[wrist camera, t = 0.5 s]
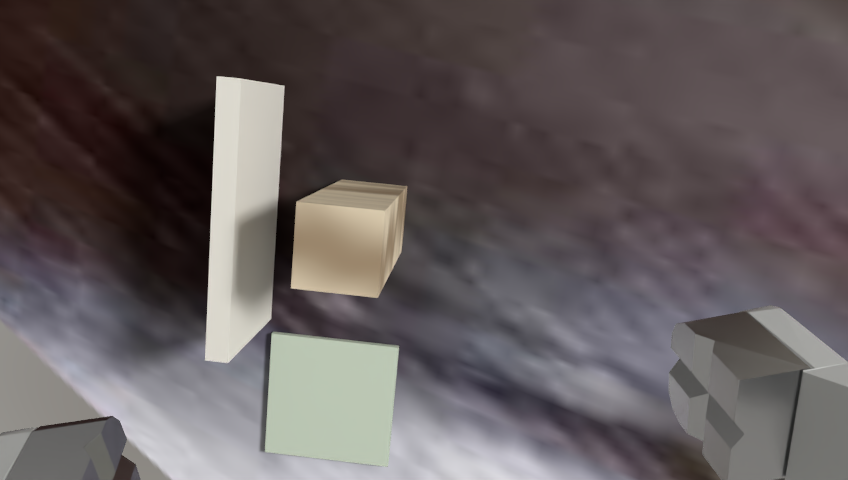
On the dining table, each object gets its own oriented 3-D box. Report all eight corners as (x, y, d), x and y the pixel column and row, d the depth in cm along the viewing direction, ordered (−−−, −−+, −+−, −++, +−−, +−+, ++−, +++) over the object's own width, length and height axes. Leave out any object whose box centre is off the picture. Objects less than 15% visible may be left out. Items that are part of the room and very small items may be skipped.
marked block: (337, 179, 53) (291, 201, 39) (407, 186, 53) (385, 210, 39) (332, 244, 54) (285, 287, 40) (401, 251, 54) (377, 297, 40)
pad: (273, 331, 55) (271, 333, 55) (399, 345, 55) (398, 347, 54) (266, 449, 57) (264, 451, 57) (388, 463, 57) (387, 466, 56)
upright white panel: (264, 83, 52) (216, 76, 42) (284, 85, 52) (241, 78, 42) (252, 316, 55) (205, 360, 45) (271, 319, 55) (227, 363, 45)
